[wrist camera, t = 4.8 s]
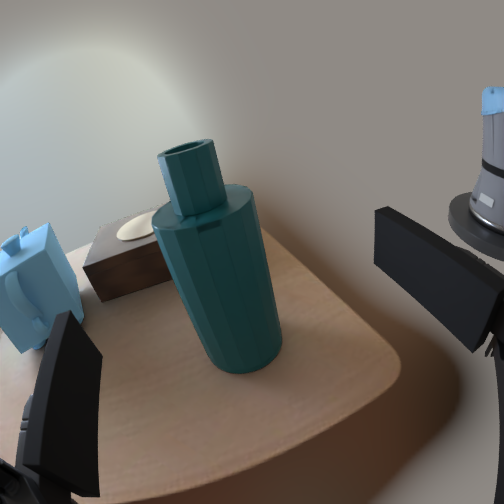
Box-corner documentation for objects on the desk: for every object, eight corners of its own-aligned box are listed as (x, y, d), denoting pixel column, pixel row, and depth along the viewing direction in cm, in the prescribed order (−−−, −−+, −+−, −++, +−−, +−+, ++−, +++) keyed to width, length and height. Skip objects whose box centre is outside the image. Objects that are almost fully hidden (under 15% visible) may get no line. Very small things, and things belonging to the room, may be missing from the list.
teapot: (94, 338, 30) (35, 240, 23) (29, 376, 26) (-37, 288, 19) (77, 270, 47) (46, 203, 40) (31, 297, 42) (-4, 233, 35)
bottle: (267, 308, 30) (226, 129, 21) (293, 356, 24) (252, 137, 15) (202, 331, 29) (136, 156, 20) (216, 384, 23) (125, 176, 14)
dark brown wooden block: (206, 223, 51) (196, 191, 48) (221, 262, 39) (209, 221, 36) (112, 255, 48) (99, 225, 45) (101, 302, 37) (81, 266, 33)
